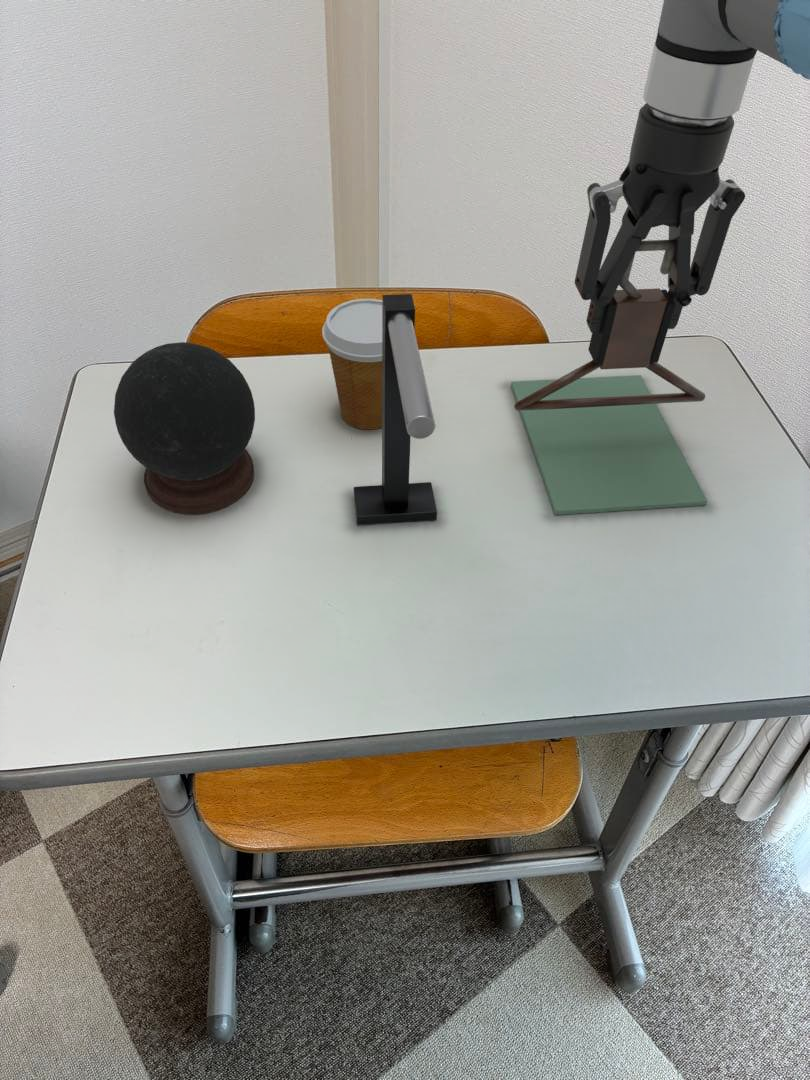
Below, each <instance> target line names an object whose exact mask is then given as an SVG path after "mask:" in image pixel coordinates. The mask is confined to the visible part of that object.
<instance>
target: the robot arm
mask: <svg viewBox="0 0 810 1080" xmlns="http://www.w3.org/2000/svg"><path fill="white" fill-rule="evenodd" d="M660 12H661V13H660V17H659V22H658V27H657V33H656V38H655V42H654V44H653V49H652V54H651V58H650V63H649V66H648V71H647V76H646V80H645V85H644V90H643V94H642V98H643V100H644V102H645V103H644V104H643V106H641V107H640V109H639V111H638V115H637V120H636V123H635V128H634V134H633V138H632V140H631V141H632V142H631V146H630V153H629V159H628V163H627V165H626V166H625V168H624V170H623V171H622V172H621V174H620V176H619V178H618V180H616V181H613V182H610V183H607V184H605V185H602V186H601V184H600V183H599V182H592V183H591V184H589V186H588V187H587V190H586V193H587V201H588V207H589V212H588V216H587V222H586V225H585V231H584V234H583V235H584V237H583V240H582V246H581V249H580V254H579V259H578V263H577V268H576V273H575V277H574V278H575V279H574V285H575V287H576V289H577V292H578V294H579V296H580V297H581V299H582V300H584V301H589V300H590V303H589V307H588V312H587V316H586V324H587V327H588V329H589V331H590V333H591V336H590V341H589V345H588V349H587V350H588V352H589V355H590V357H591V359H592V360H593V361H594V363H595V365H603V362H604V358H605V354H606V350H607V346H608V342H609V338H610V334H611V330H612V326H613V322H614V318H615V314H616V310H617V305H616V304H615V302H614V300H613V298H612V297H613V295H614V293H615V292H616V290H618V288H619V287H620V286H619V284H620V282H621V280H622V278H623V276H624V274H625V272H626V270H627V268H628V266H629V264H630V262H631V260H632V258H633V256H634V254H635V255H636V253H637V252H638V251H637V249H638V247H639V245H640V243H641V241H645V240H646V239H647V237H648V235H649V233H650V231H651V229H652V228H656V227H660V226H665V227H666V226H667V227H668V240H673V241H674V245H675V250H674V258H673V262H672V265H671V269H670V272H669V273H668V274H667V288H668V290H667V289H660V290H661V291H662V293H663V294H664V296H665V298H666V299H667V301H668V302H667V306H666V309H665V312H664V316H663V319H662V322H661V326H660V329H659V333H658V336H657V339H656V343H655V346H654V349H653V353H652V356H651V360H650V362H651V363H652V362H657V363H658V362H659V360H660V357H661V354H662V351H663V347H664V343H665V341H666V337H667V333H668V331H669V330H674V329H675V328H676V327H677V326H678V324H679V321H680V317H681V314H682V310H683V308H684V307H688V306H689V305H690V304H691V303H692V301H693V299H692V296H695V295H698V296H704V295H706V294H707V293H708V292H709V290H710V288H711V285H712V282H713V279H714V276H715V272H716V269H717V266H718V263H719V260H720V256H721V253H722V251H723V247H724V244H725V241H726V238H727V235H728V231H729V228H730V225H731V223H732V219H733V217H734V216H735V215H736V213H737V212H738V210H739V208H740V207H741V205H742V204H743V202H744V201H745V199H746V193H745V191H743V190H742V188H741V187H739V185H738V184H737V183H736V182H735V181H734V180H733V179H732V178H731V179H729V178H728V179H726V180H723V179H721V177H720V172H719V171H720V170H719V169H720V166H721V165H722V163H723V162H724V160H725V159H724V158H725V155H726V152H727V149H728V145H729V144H730V140H731V136H732V134H733V130H734V127H735V120H734V118H733V115H735V114H736V113H737V112H738V111H739V110H740V107H741V104H742V101H743V98H744V94H745V92H746V87H747V83H748V82H749V77H750V74H751V71H752V69H753V64H754V61H755V57H756V55H757V51H758V52H760V53H762V54H764V55H766V56H768V57H769V58H771V59H773V60H774V61H776V62H778V63H780V64H782V65H784V66H786V67H787V68H789V69H791V71H792V72H793V73H795V74H797V75H800V76H802V77H803V79H806V80H810V0H663V3H662V9H661V11H660ZM622 197H623V199H624V200H625V203H626V205H627V207H626V209H625V211H624V213H623V215H622V217H621V225H620V228H619V230H618V232H617V233H616V235H615V238H614V239H613V241H612V244H611V245H610V248H609V250H608V252H607V254H606V256H605V258H604V253H605V248H606V244H607V240H608V236H609V232H610V227H611V219H612V215H611V214H613V213H614V212H616V209H617V205H618V202H619V200H620V198H622ZM708 200H709V205H708V208H707V210H706V214H705V217H704V220H703V224H702V226H701V231H700V234H699V237H698V241H697V244H696V247H695V251H694V254H693V258H692V260H691V255H692V236H693V235H694V233H695V213H696V212H697V211H698V210H699V209H700V208H701V207H702V206H703V205H704V204H705V203H706V202H707V201H708ZM634 257H635V256H634ZM603 258H604V260H603ZM602 261H603V262H602Z"/></svg>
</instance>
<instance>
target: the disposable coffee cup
mask: <svg viewBox="0 0 810 1080" xmlns="http://www.w3.org/2000/svg"><path fill="white" fill-rule="evenodd" d="M321 333H322V338H323V341H324V342H325V345H326V346H327V347H328V353H329V358H330V364H331V368H332V373H333V378H334V382H335V389H336V393H337V397H338V403H339V407H340V414H341V417H342V419H343V421H344V422H345V423H347V424H348V425H350V426H352V427H354V428H357V429H361V430H377V429H382V299H377V298H356V299H350V300H348V301H344V302H343V303H340V304H339V305H337V306H334V307H333V308H332V309H331V310H330V311H329V312H328V314H327V316H326V320H325V322H324V323H323V325H322V329H321Z"/></svg>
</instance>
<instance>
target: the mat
mask: <svg viewBox="0 0 810 1080" xmlns="http://www.w3.org/2000/svg"><path fill="white" fill-rule="evenodd" d="M557 379H558V378H555V379H537V380H536V379H535V380H517V381H515V380H514V381H511V382H510V387H511V390H512V393H513V396H514V399H515V403H516V402H517V401H519V400H521V399H523V398H525V397H527V396H528V395H530V394H532V393H534V392H536V391H537V390H539V389H541V388H543V387H545V386H546V385H548V384H550V383H552V382H554V381H556V380H557ZM632 395H652V394H651V392H650V390H649V388H648V387H647V385H646V383H645V380H644V379H643V378H642V375H640V374H636V375H619V376H618V375H617V376H615V375H614V376H598V377H596V376H595V377H594V376H593V377H581V378H579V379H577V380H576V381H574V382H572V383H570V384H568V385H567V386H565V387H563V388H561V389H559V390H557V391H556V392H554V393H552V394H550V395H548V396H546V397H545V398H543V399H541V400H554V399H574V398H593V397H613V396H632ZM519 414H520V417H521V420H522V422H523V426H524V428H525V431H526V434H527V437H528V440H529V443H530V446H531V449H532V451H533V455H534V457H535V461H536V464H537V467H538V469H539V472H540V475H541V478H542V481H543V484H544V487H545V490H546V493H547V496H548V499H549V502H550V505H551V507H552V510H553V513H554V516H562V515H575V514H591V513H592V514H593V513H606V512H607V513H608V512H620V511H621V512H623V511H638V510H639V511H640V510H652V509H654V510H655V509H669V508H682V507H685V508H686V507H697V506H698V507H700V506H706V505H707V503H708V499H707V497H706V496H705V494H704V492H703V490H702V489H701V488H702V487H701V486H700V484H699V482H698V481H697V479H696V476H695V475H694V473H693V471H692V469H691V468H690V465H689V463H688V461H687V460H686V457H685V456H684V454H683V452H682V451H681V448H680V446H679V445H678V443H677V441H676V440H675V436H674V435H673V433H672V431H671V429H670V428H669V426H668V424H667V422H666V420H665V419H664V417H663V415H662V413H661V411H660V409H659V407H658V405H657V404H641V405H622V406H603V407H584V408H565V409H546V410H527V411H519Z"/></svg>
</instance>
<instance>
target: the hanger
mask: <svg viewBox="0 0 810 1080" xmlns="http://www.w3.org/2000/svg"><path fill="white" fill-rule="evenodd" d="M674 250H675V245H674V241H673V240H669V239H652V240H651V239H650V240H649V239H648V240H647V239H645V240H642V241H641V243H640V245H639V247H638V249H637V251H636V252H657V251H658V252H659V251H660V252H661V251H662V252H663V251H664V254H663V257H662V261H661V264H660V269H659V272H660V274H662V275H664V276H665V275H668V273H669V272H670V269H671V265H672V262H673V258H674ZM635 255H636V253H635V254H634V256H633V258H632V260H631V262H630V264H629V266H628V268H627V270H626V272H625V274H624V276H623V278H622V280H621V282H620V284H619V286H618V287H620V288H621V289H617V290H616V292H615V293H614V295H613V297H612V298H613V300H614V302H615V304H616V305H617V310H616V314H615V318H614V322H613V326H612V330H611V334H610V338H609V342H608V346H607V350H606V354H605V358H604V362H603V365H595V363H594V361H593V359H592V360H590V361H588V362H586V363H584V364H583V365H581V366H579V367H577V368H575V369H574V370H572V371H570V372H568V373H566V374H565V375H562V376H561V377H559V378H556V379H557V380H556V381H554V382H552V383H550V384H548V385H546V386H545V387H543V388H541V389H539V390H537V391H536V392H534V393H532V394H530V395H528V396H527V397H525V398H523V399H521V400H519V401H517V402H516V401H515V403H514V405H513V408H514V410H515V411H517V412H520V411H527V410H546V409H565V408H584V407H603V406H622V405H641V404H656V405H657V404H660V405H661V404H675V403H678V404H679V403H697V402H703V401H704V400H705V399H706V394H705V392H703V391H701V390H700V389H698V388H697V387H695V385H692V384H691V383H689V382H687V381H686V380H685V379H683V378H681V377H680V376H679V375H677V374H676V373H674V372H672V371H671V370H670V369H668V368H667V367H665V366H663V365H662V364H660V363H658V362H652V363H651V362H650V360H651V356H652V353H653V349H654V346H655V343H656V339H657V336H658V333H659V329H660V326H661V322H662V319H663V316H664V312H665V309H666V306H667V302H668V301H667V299H666V298H665V296H664V294H663V293H662V291H661V290H662V289H660V288H657V287H656V288H636V287H635V285H634V284H633V283H632V282H631V281H630V280H629V279H630V276H631V271H632V267H633V263H634V260H635ZM639 368H641V369H642V368H646V369H647V370H648V371H651V372H652V373H654V374H655V375H656V376H659V377H660V378H661V379H663V380H664V381H666V382H668V383H669V384H670V385H672V386H674V387H675V388H676V389H679V390H680V391H681V392H677V393H676V392H674V393H673V392H672V393H671V392H670V393H653V394H651V395H632V396H613V397H593V398H574V399H554V400H541V399H543V398H545V397H546V396H548V395H550V394H552V393H554V392H556V391H557V390H559V389H561V388H563V387H565V386H567V385H568V384H570V383H572V382H574V381H576V380H577V379H579V378H584V377H585V376H586V375H588V374H591V373H592V372H594V371H596V370H598V369H600V370H620V369H639Z"/></svg>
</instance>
